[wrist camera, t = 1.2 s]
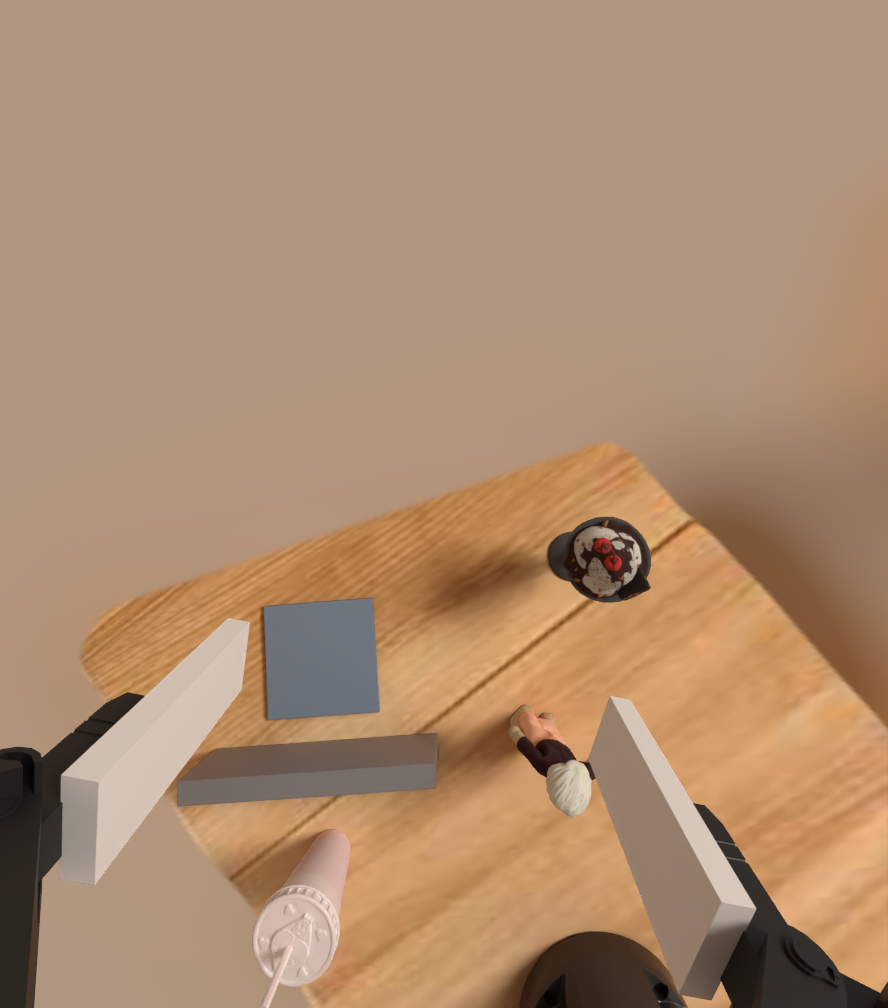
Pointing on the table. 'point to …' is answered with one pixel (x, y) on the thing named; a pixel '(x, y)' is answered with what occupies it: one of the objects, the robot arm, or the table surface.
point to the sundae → (603, 559)
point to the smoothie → (303, 917)
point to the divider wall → (312, 770)
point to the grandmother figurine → (552, 760)
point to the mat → (321, 659)
